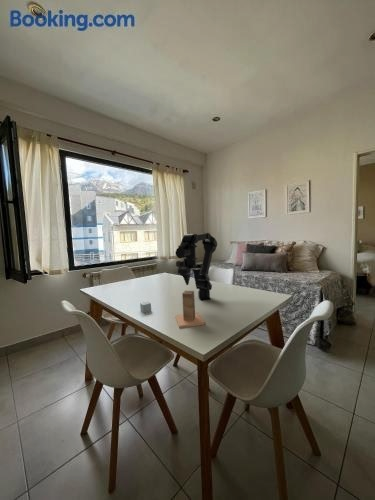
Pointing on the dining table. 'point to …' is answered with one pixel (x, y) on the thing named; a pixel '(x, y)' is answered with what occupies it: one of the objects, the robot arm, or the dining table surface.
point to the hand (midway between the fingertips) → (191, 283)
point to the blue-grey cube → (145, 306)
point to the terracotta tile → (185, 323)
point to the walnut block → (188, 305)
